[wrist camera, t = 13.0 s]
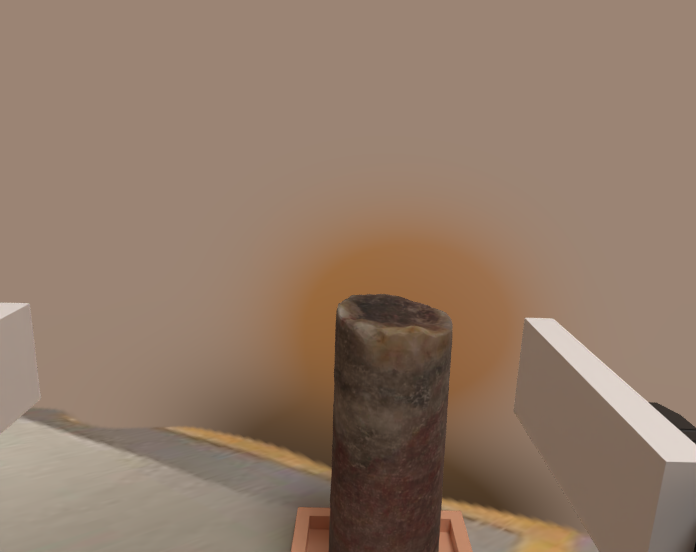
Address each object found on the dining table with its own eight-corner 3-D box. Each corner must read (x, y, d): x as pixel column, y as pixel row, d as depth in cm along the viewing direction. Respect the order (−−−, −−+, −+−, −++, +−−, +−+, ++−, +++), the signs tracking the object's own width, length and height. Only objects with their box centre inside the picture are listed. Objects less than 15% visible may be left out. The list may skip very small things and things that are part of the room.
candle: (382, 533, 43) (391, 285, 38) (459, 588, 38) (481, 309, 33) (305, 584, 38) (305, 305, 33) (382, 656, 33) (395, 337, 28)
